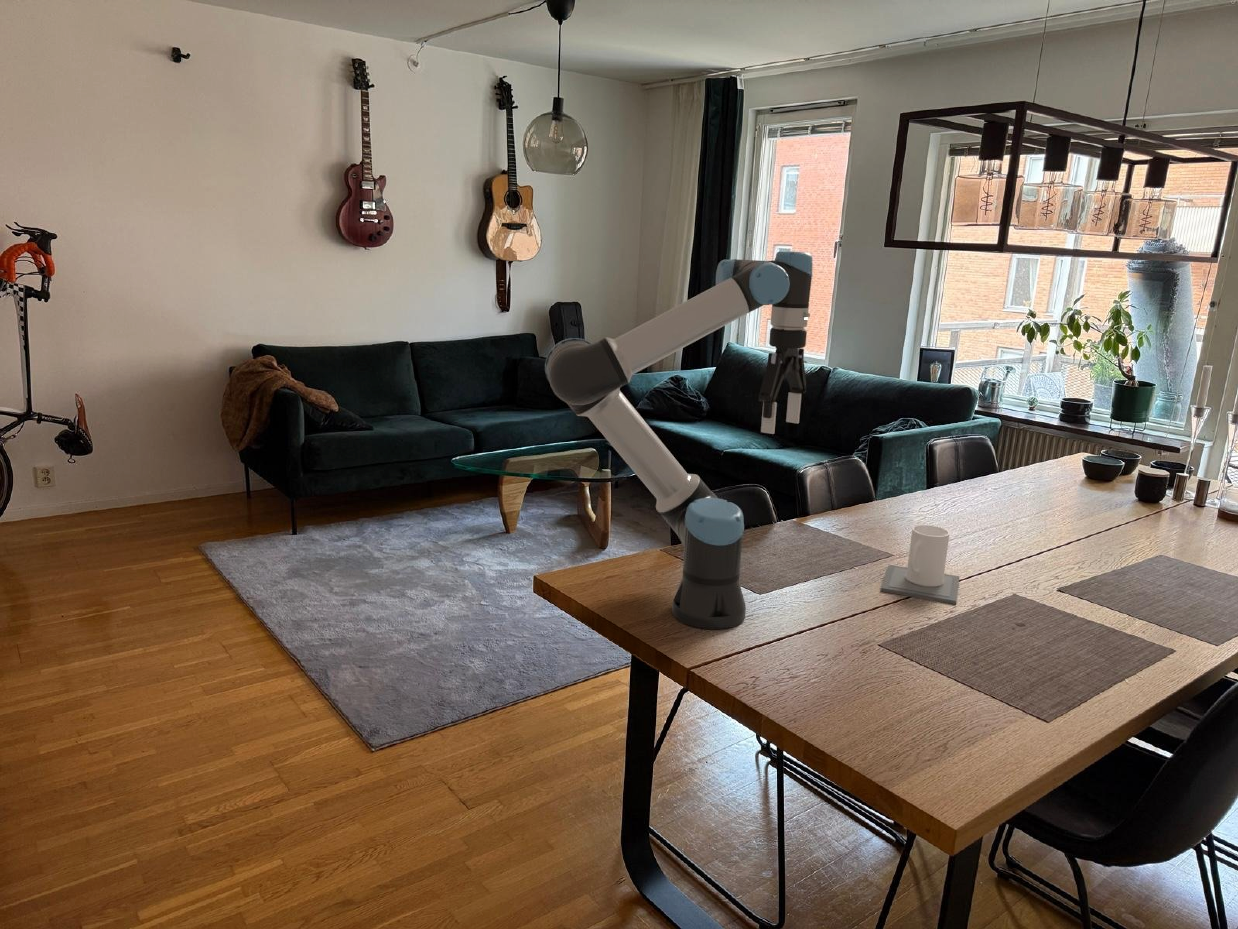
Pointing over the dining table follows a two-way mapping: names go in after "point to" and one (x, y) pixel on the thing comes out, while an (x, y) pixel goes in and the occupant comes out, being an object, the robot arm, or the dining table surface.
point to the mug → (927, 555)
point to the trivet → (919, 586)
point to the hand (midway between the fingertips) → (780, 427)
